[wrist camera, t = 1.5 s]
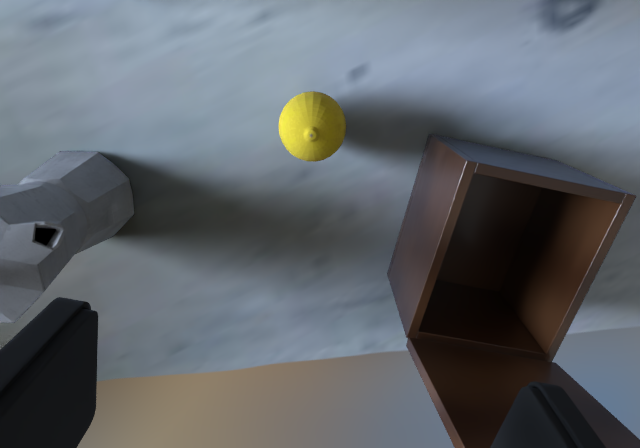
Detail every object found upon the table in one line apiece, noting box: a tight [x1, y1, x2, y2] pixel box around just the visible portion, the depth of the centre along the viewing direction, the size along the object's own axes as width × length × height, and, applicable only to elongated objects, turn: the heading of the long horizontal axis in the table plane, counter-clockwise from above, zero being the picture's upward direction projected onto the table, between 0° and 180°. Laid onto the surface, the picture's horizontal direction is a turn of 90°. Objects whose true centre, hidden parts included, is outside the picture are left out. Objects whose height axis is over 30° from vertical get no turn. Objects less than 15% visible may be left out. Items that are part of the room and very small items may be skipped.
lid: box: [406, 337, 640, 448], centre depth 27 cm, size 16×13×5 cm
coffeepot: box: [0, 151, 134, 323], centre depth 33 cm, size 15×9×18 cm, turn 111°
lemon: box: [279, 92, 346, 161], centre depth 35 cm, size 6×6×8 cm
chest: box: [387, 134, 636, 362], centre depth 37 cm, size 15×13×11 cm
